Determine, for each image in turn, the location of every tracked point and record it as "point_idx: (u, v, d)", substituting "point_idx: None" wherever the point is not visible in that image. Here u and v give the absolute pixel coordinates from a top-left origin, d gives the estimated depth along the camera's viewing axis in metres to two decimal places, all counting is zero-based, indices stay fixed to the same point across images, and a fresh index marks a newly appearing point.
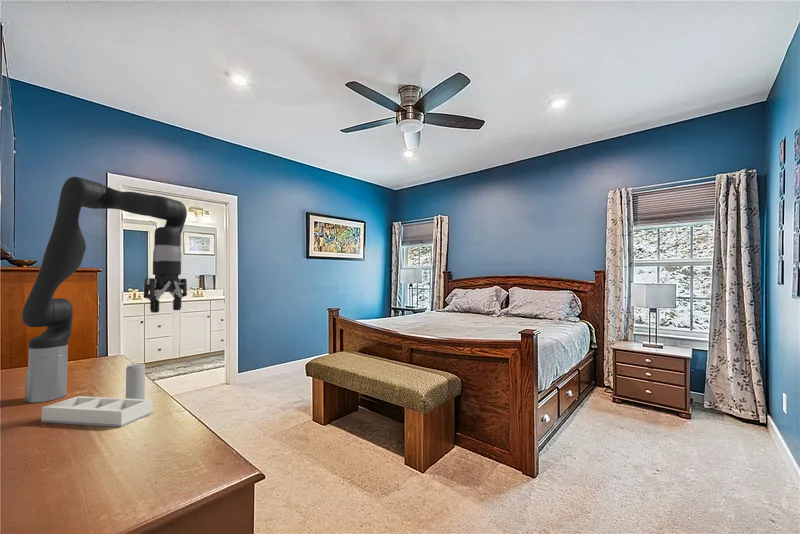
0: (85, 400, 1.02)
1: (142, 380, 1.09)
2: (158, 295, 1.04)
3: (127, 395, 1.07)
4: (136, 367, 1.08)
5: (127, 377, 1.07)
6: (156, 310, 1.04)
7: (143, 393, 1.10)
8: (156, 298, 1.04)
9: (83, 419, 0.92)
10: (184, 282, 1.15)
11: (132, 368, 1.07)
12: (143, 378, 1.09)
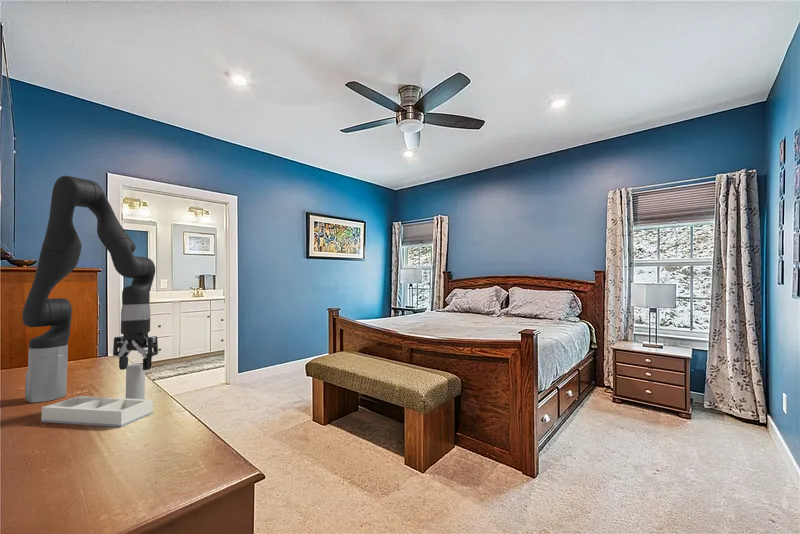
0: (85, 400, 1.02)
1: (142, 380, 1.09)
2: None
3: (127, 395, 1.07)
4: (136, 367, 1.08)
5: (127, 377, 1.07)
6: (150, 367, 1.09)
7: (143, 393, 1.10)
8: None
9: (83, 419, 0.92)
10: None
11: (132, 368, 1.07)
12: (143, 378, 1.09)
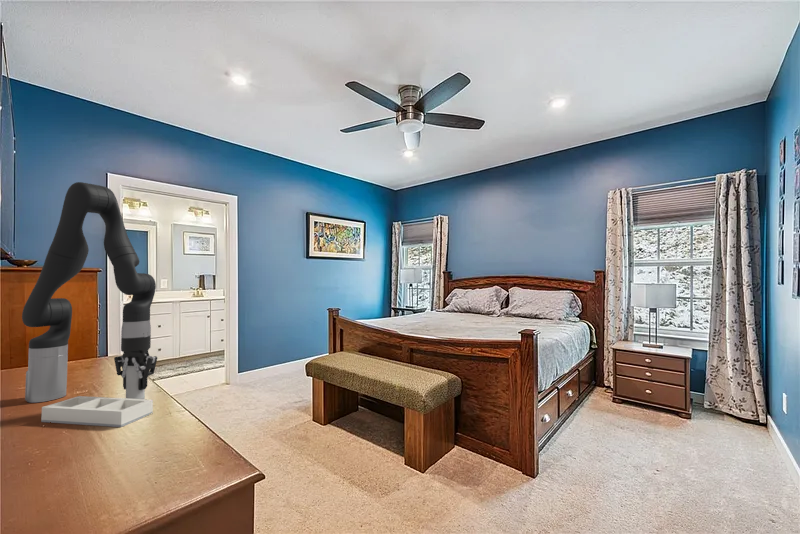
0: (85, 400, 1.02)
1: None
2: None
3: (127, 395, 1.07)
4: None
5: (127, 377, 1.07)
6: (145, 386, 1.09)
7: (143, 393, 1.10)
8: None
9: (83, 419, 0.92)
10: None
11: (132, 368, 1.07)
12: None
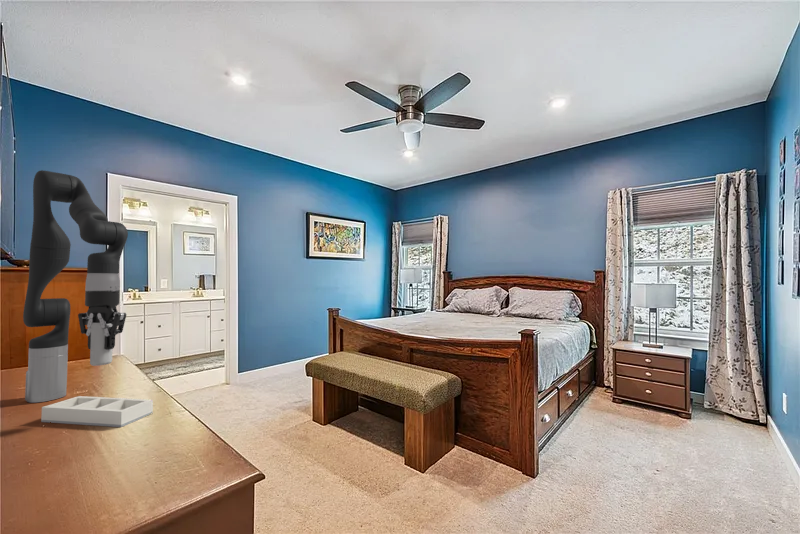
0: (85, 400, 1.02)
1: None
2: None
3: (91, 355, 0.96)
4: None
5: (92, 335, 0.96)
6: None
7: (110, 354, 0.99)
8: None
9: (83, 419, 0.92)
10: None
11: (97, 325, 0.96)
12: None
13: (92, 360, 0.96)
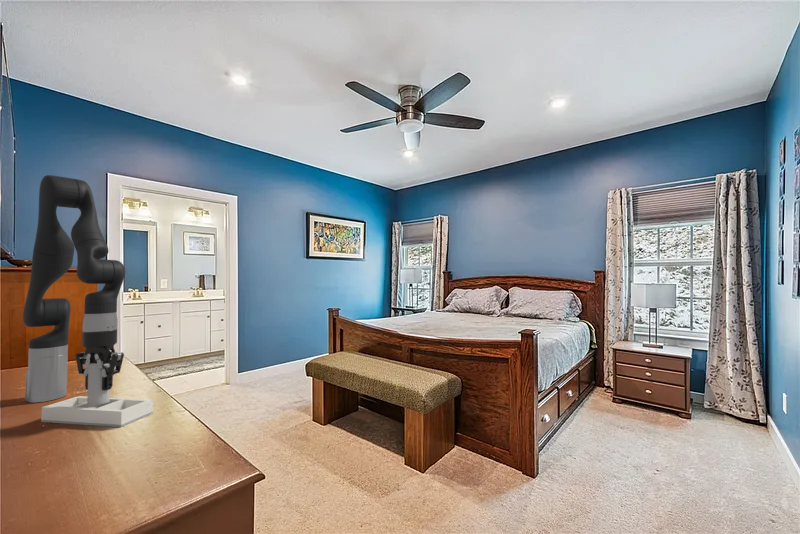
0: (85, 400, 1.02)
1: None
2: None
3: (89, 396, 0.95)
4: None
5: (89, 376, 0.95)
6: (111, 386, 0.98)
7: (108, 394, 0.98)
8: None
9: (83, 419, 0.92)
10: None
11: (95, 366, 0.95)
12: None
13: (90, 401, 0.95)
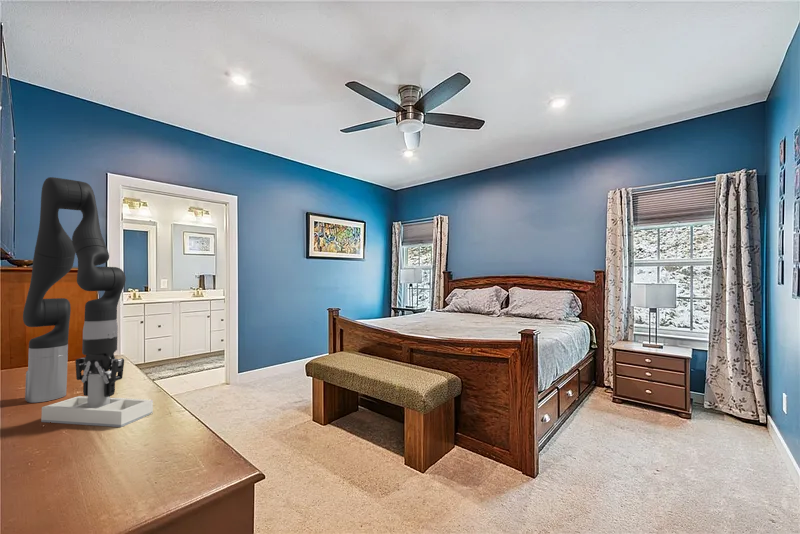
0: (85, 400, 1.02)
1: None
2: None
3: (89, 407, 0.95)
4: (99, 375, 0.96)
5: (89, 386, 0.95)
6: None
7: None
8: None
9: (83, 419, 0.92)
10: None
11: (94, 376, 0.95)
12: None
13: None
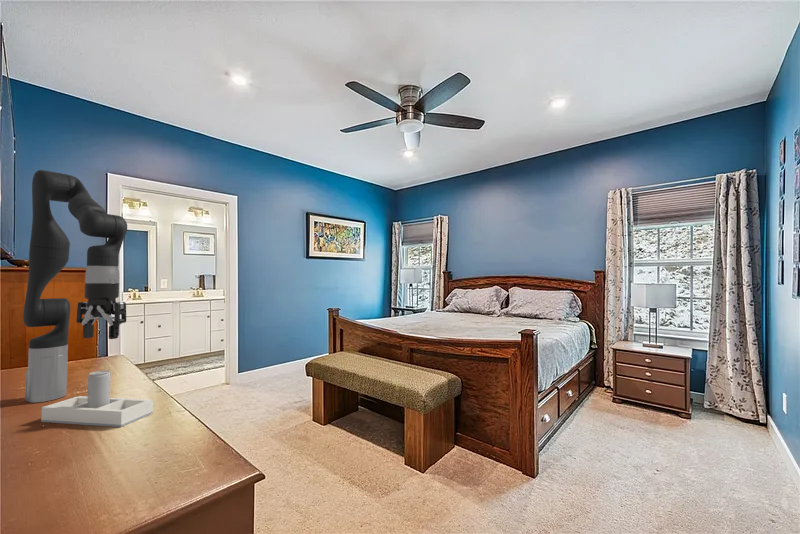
0: (85, 400, 1.02)
1: (107, 390, 0.97)
2: None
3: (89, 407, 0.95)
4: (99, 375, 0.96)
5: (89, 387, 0.95)
6: (117, 336, 0.99)
7: None
8: None
9: (83, 419, 0.92)
10: None
11: (94, 376, 0.95)
12: (107, 388, 0.97)
13: None
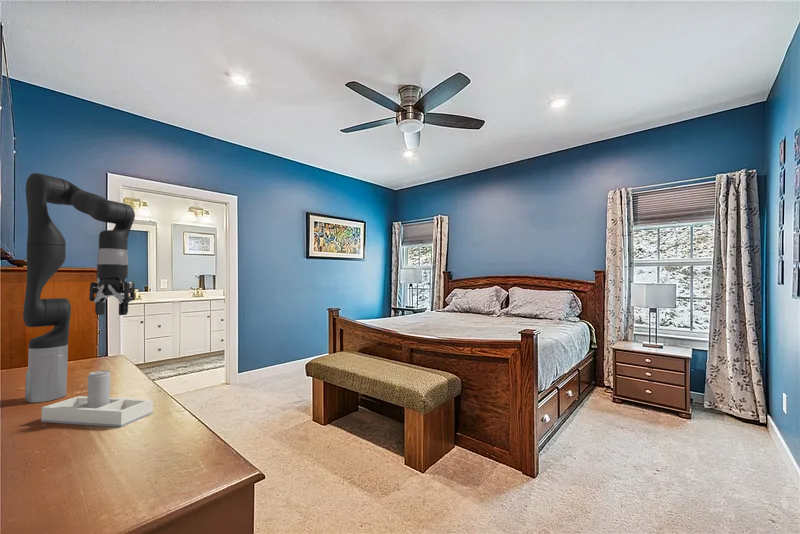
0: (85, 400, 1.02)
1: (107, 390, 0.97)
2: None
3: (89, 407, 0.95)
4: (99, 375, 0.96)
5: (89, 387, 0.95)
6: (126, 312, 1.08)
7: None
8: None
9: (83, 419, 0.92)
10: None
11: (94, 376, 0.95)
12: (107, 388, 0.97)
13: None
